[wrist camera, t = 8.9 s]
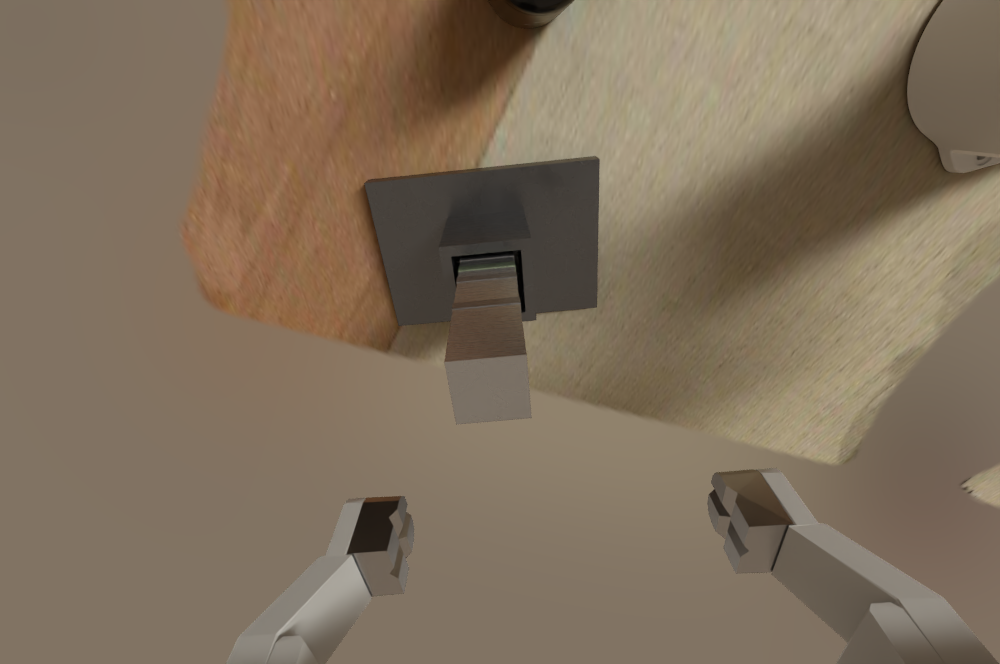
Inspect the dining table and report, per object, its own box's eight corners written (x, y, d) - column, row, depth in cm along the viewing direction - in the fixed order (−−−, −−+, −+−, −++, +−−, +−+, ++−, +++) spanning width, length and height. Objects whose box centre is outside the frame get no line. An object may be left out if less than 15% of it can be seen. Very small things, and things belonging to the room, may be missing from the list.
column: (512, 245, 35) (527, 353, 21) (516, 291, 37) (532, 418, 23) (461, 250, 35) (443, 361, 21) (468, 296, 37) (455, 425, 23)
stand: (595, 156, 38) (628, 180, 29) (593, 300, 45) (619, 356, 36) (368, 179, 39) (331, 210, 29) (401, 318, 46) (379, 378, 36)
